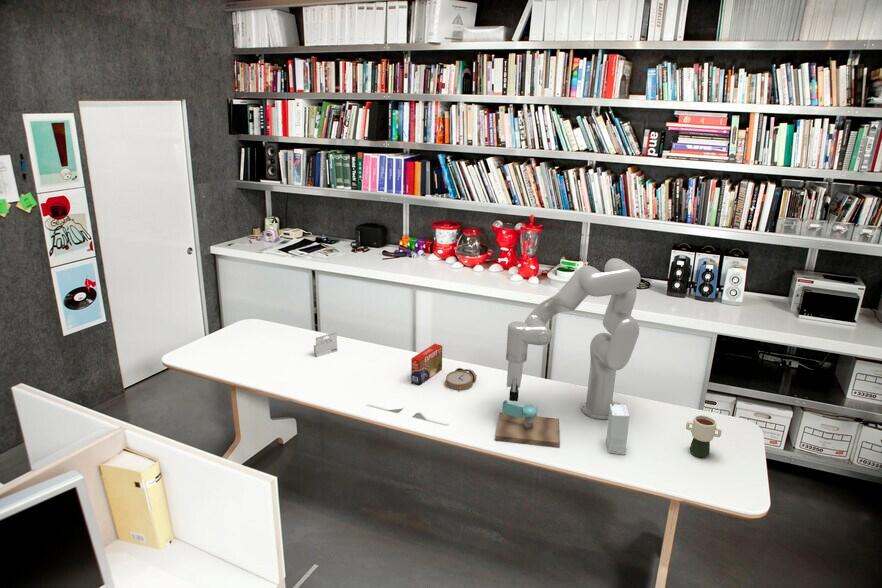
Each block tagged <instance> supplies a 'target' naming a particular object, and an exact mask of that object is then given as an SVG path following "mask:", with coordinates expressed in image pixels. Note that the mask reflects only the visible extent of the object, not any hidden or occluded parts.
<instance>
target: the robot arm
mask: <svg viewBox="0 0 882 588" xmlns="http://www.w3.org/2000/svg"><path fill="white" fill-rule="evenodd" d="M641 279H642V278H641V273H640V272H639V271H638V270H637V268H635V267H633V266H632V265H630V264H629V263H628V262H626V261H624V260H622V259H621V258H617V257H615V258H610V259H608V261H607V262H606V263H605V266H604V272H603V271H600V270H599V269H597V268H596V267H594V266H591V265H583V266H581V267H579V269H578V270H576V272H575V273H574V274H573V275H572V276H571V277H570V278H569V279H568V280H567V282H566V283H565V284H564V285H563V286H562V287H561V288H560V290H558V292H557V293H556V294H555V295H552V296H551V297H549V298H547V299H546V300H543V301H542V302H540V303H539V304H538V305H537V306H536V307H535V308H534V309H533V310H532V311H531V312H530V313H529V314H528V316H527V317H526V319H525V320H524V322H523V321H518V320H517V321H512V322H510V323H509V324H508V325H507V326H508V327H507V337H506V352H505V354H506V355H505V359H506V361H507V362H508V363H507V374H506V387H507V388H510V389H509V398H508V399H509V401H510V402H518V401H519V391H520V390H519V389H520V388H521V382H522V377H523V368H524V363H526V362H527V359H528V348H529V347H528V346H529V345H533V346H546V345H548V344H549V343H550V342H552V339H553V333H552V331H551V329H550V328H549V327H548V325H547V323H548V322H549V321H550V320H551V319H552V318H553V317H554V316H555V315H558V314H559V313H564V312H573V311H575V310H576V309H577V308H578V307H579V306H580V305H581V304H582V303H583V301H585V299H586V298H587V297H588V296H591V297H594V298H596V297H597V298H599V297H606V296H607V297H608V296H610V298H609V301H608V304H607V306H606V310H605V311H604V315H603V318H602V326H603V327H604V329H605V330H606V331H607V332H608V333H607V332H600V333H597V334H595V335H594V336H593V337H592V339H591V341H590V344H589V355H590V359H589V361H590V363H589V375H588V383H587V384H588V385H587V389H586V390H587V393H586V400H585V401H584V402H583V403H582V404H581V409H580V410H581V411H582V413H583V414H584V415H585V416H588V417H589V418H593V419H597V420H608V417H609V407H610V404H616V405H621V403H620V402H614V401H613V398H614V389H615V381H616V376H617V371H620V370H623V369H624V368H625V367H626V366H627V365H628V363H629V361H630V359H631V357H632V354H633V351H634V349H635V346H636V344H637V341H638V339H639V335H640V325H639V322H638V321H637V319H635V318H634V317H633V316H632V312H633V309H634V304H635V302H636V299H637V287H639V285H640V283H641Z"/></svg>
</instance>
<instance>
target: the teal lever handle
mask: <svg viewBox="0 0 882 588" xmlns="http://www.w3.org/2000/svg"><path fill="white" fill-rule="evenodd" d="M501 410H502V412H501V413H503V414H507V415H510V416H514V417H518V418H522V417H523V415H524V416H525V417H529V418H532V417H535V416H537V411H538V408H537V407H536V406H534V405H532V404H525V405H521V404H519V403H513V402H511V401H510V402H509V401H508V400H504V401H503V402H502V409H501Z"/></svg>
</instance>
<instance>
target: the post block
mask: <svg viewBox="0 0 882 588" xmlns="http://www.w3.org/2000/svg"><path fill="white" fill-rule="evenodd" d="M497 420H498V421H497V425H496V426H497V427H496V432H495V433H496V434H495V441H496V442H498V441H499V442H506V443H513V444H521V445H522V444H523V445H531V446H532V445H533V446H540V447H541V446H543V447H549V448H551V447H552V448H560V445H561V437H560V435H561V434H560V430H561V429H560V418H557V417H556V418H555V417H549V416H548V417H547V416H537V415H536V416H535V417H532V418H529V417H525V416H524V415H523V417H522V418H518V417H514V416H510V415H507V414H503V413H502V412H499V415H498V419H497Z"/></svg>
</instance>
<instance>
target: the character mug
mask: <svg viewBox="0 0 882 588" xmlns="http://www.w3.org/2000/svg"><path fill="white" fill-rule="evenodd" d="M717 424H718V423H717V421H716V419H714V418H713V417H711V416H709V415H705V414H698V415H695V416H694V417H693V420H692V421H689V420H687V421H686V425H685V429H686V430H687V431H690V432H691V435H692V437H693V438H692V441H691V442H690V446H689V452H690V453H691V454H692V455H694V456H696V457H699V458H706V457H708V456H709V455H710V452H711V451H710V450H711V445H710V444H711V441H713V439H714V438H715V437H716V438H720V437H722V432H723V429H722V428H721V427H717ZM690 425H692V426H691V427H690ZM716 431H717V433H716Z"/></svg>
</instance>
